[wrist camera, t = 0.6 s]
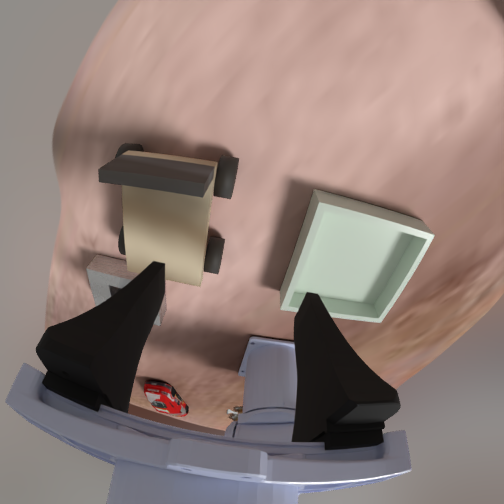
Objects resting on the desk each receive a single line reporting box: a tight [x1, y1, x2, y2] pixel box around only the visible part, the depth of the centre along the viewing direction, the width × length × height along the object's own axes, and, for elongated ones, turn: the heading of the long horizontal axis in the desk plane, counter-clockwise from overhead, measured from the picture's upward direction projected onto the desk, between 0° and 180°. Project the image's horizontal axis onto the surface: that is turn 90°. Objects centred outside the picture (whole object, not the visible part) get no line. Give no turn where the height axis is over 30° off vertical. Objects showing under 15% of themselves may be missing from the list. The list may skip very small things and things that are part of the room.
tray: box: [280, 189, 435, 323], centre depth 23 cm, size 11×11×2 cm
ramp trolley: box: [98, 143, 239, 287], centre depth 19 cm, size 10×9×7 cm
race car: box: [144, 381, 189, 417], centre depth 43 cm, size 13×5×4 cm, turn 5°
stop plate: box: [86, 254, 166, 326], centre depth 27 cm, size 6×8×2 cm
